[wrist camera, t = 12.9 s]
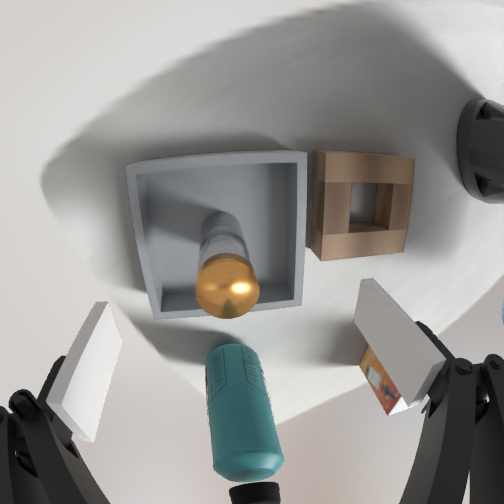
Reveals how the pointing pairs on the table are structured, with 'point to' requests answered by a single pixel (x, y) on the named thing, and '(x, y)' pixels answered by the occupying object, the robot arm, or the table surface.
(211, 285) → the pin
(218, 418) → the beverage bottle
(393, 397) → the small box
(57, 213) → the table surface
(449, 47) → the table surface
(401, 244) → the block
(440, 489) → the robot arm
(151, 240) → the tray
